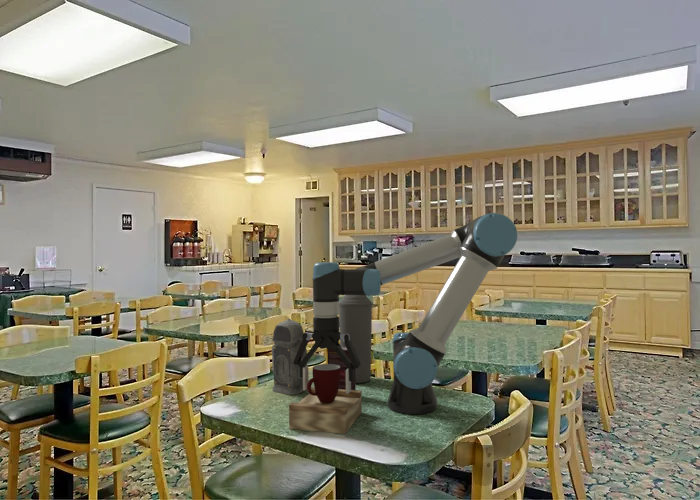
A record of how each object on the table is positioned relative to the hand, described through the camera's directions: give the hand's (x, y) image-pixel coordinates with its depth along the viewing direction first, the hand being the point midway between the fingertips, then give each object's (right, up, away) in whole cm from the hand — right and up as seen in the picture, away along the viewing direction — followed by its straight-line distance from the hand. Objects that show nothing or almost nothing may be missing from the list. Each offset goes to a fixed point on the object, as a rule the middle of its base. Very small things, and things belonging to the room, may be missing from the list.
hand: (326, 390), depth 145 cm
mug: (-1, -4, 0) cm, 4 cm away
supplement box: (+4, -9, +25) cm, 27 cm away
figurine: (-14, -9, +31) cm, 35 cm away
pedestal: (0, -8, 0) cm, 8 cm away
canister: (+9, -8, +43) cm, 45 cm away
